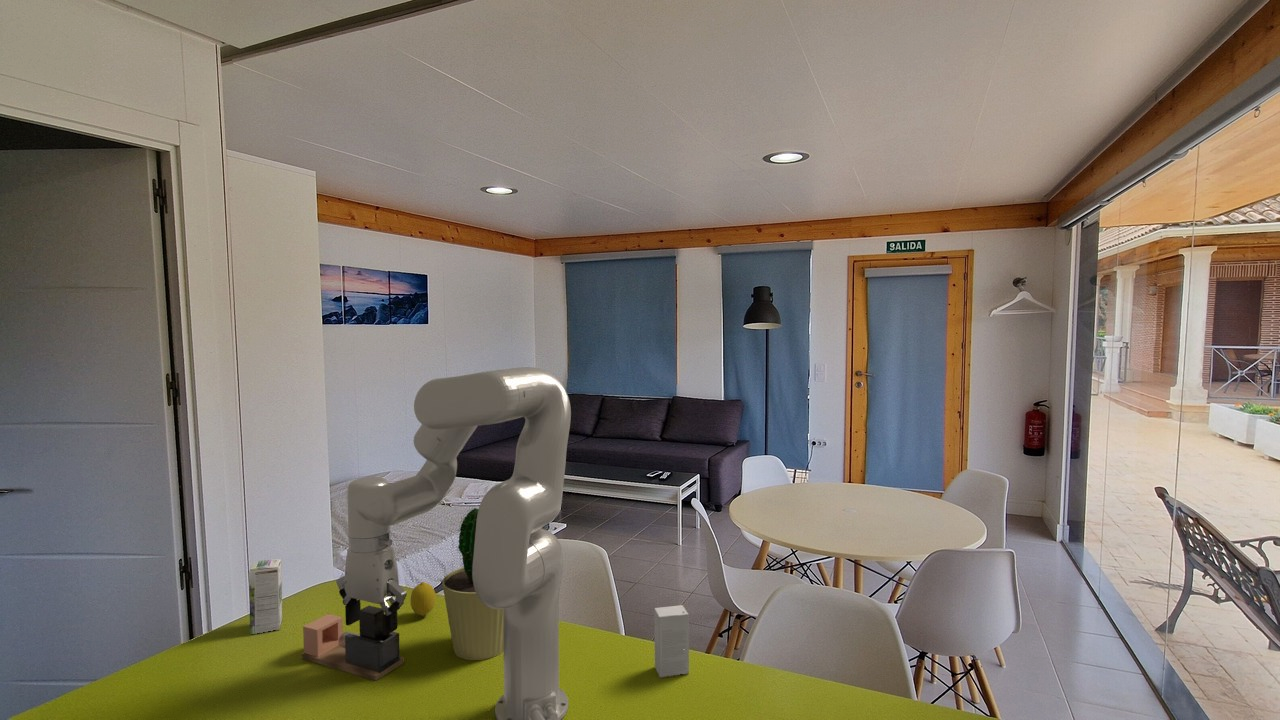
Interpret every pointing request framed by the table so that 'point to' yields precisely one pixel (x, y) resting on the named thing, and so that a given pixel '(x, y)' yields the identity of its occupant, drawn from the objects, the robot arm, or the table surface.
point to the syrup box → (265, 596)
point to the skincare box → (671, 640)
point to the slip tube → (368, 625)
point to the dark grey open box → (372, 651)
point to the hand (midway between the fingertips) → (371, 627)
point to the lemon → (423, 599)
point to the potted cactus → (471, 605)
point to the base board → (338, 661)
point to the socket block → (322, 635)
